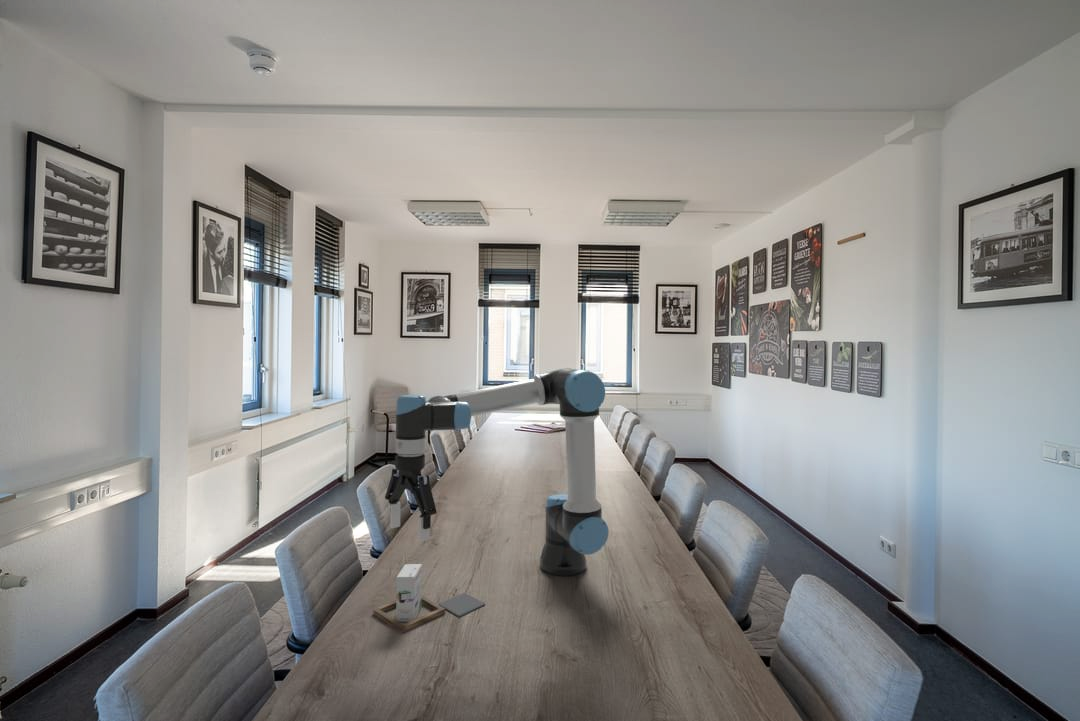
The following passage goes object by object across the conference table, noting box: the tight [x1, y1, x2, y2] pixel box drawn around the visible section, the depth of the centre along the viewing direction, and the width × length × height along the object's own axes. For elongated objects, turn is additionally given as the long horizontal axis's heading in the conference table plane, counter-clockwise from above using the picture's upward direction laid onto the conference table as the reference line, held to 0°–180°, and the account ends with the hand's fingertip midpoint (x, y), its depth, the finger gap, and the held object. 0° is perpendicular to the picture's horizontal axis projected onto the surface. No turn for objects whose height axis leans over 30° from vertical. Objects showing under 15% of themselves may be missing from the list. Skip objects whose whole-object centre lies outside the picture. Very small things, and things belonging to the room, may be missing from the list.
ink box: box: [395, 563, 423, 623], centre depth 139 cm, size 8×5×12 cm, turn 179°
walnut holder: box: [372, 595, 446, 634], centre depth 139 cm, size 13×13×1 cm
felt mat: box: [438, 592, 486, 618], centre depth 144 cm, size 9×9×1 cm
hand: (409, 533), depth 138 cm, fingers open, 13 cm apart
